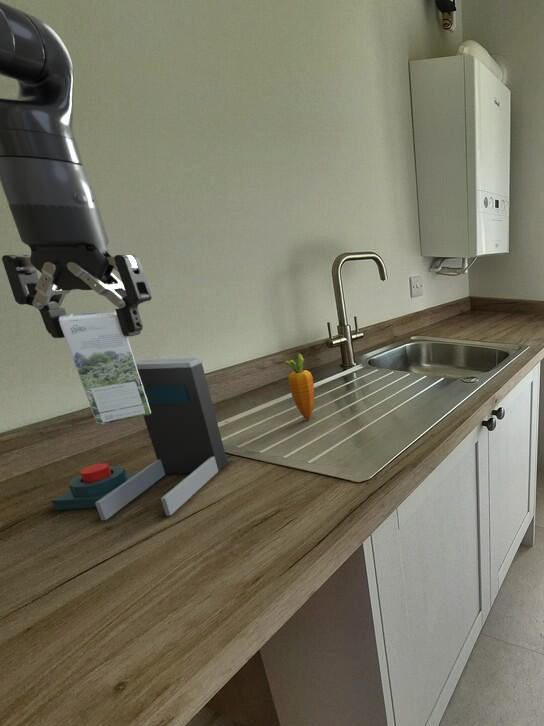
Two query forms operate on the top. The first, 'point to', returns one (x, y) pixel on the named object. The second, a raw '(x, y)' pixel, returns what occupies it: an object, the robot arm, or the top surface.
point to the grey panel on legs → (174, 434)
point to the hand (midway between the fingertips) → (98, 336)
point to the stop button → (95, 472)
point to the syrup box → (105, 366)
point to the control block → (90, 490)
